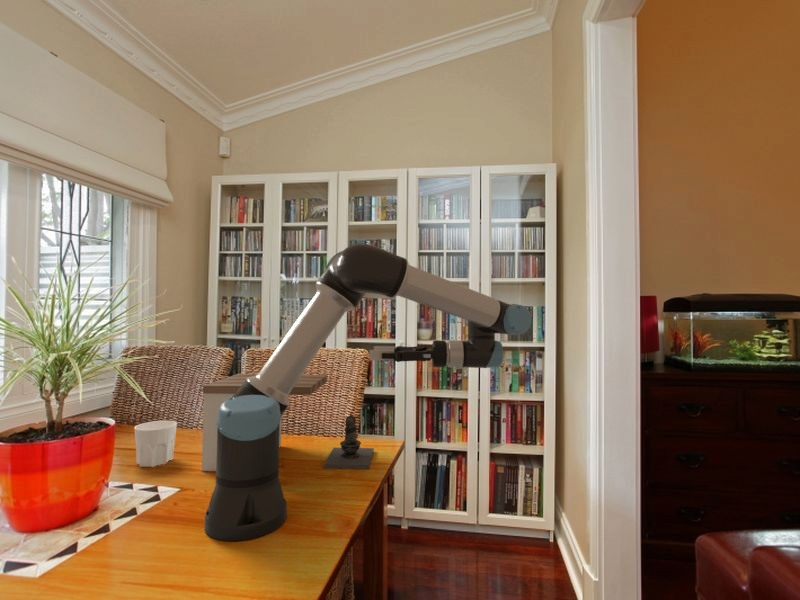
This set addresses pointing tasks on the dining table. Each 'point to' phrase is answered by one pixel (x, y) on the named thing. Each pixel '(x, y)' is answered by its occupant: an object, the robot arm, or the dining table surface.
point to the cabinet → (224, 391)
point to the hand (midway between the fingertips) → (371, 352)
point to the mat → (357, 463)
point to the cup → (155, 442)
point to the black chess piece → (350, 439)
